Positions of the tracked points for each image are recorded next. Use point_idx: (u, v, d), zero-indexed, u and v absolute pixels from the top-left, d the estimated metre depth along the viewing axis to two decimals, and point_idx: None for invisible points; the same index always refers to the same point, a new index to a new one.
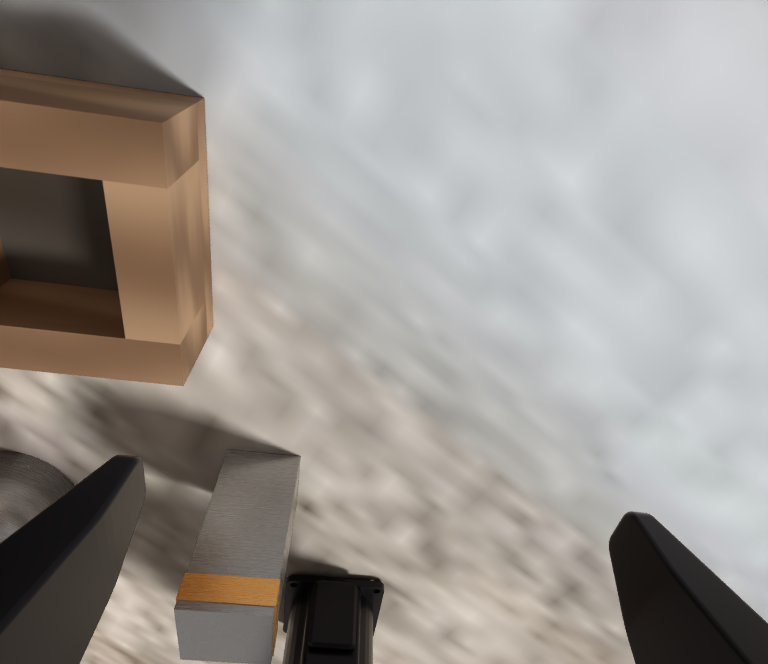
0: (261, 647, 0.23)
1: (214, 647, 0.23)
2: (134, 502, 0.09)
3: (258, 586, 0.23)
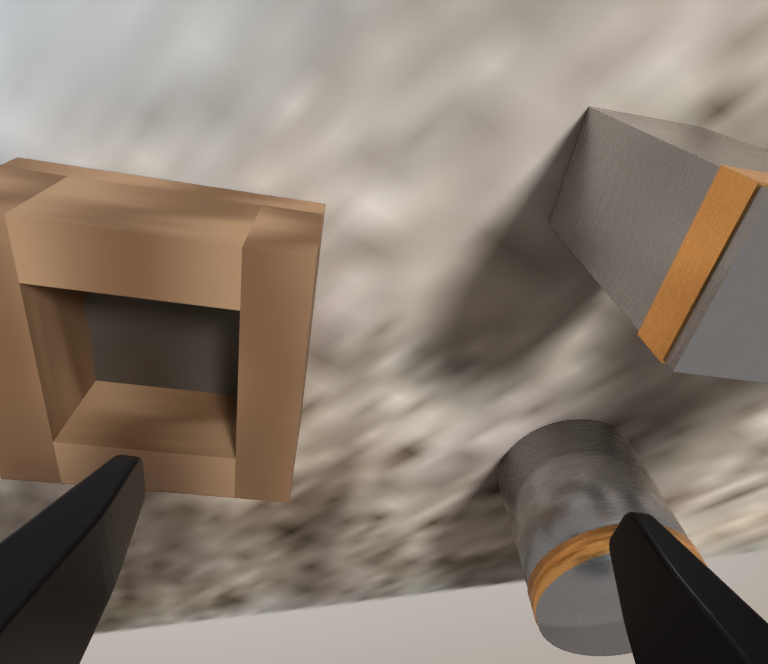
0: None
1: None
2: (134, 502, 0.09)
3: (710, 213, 0.11)
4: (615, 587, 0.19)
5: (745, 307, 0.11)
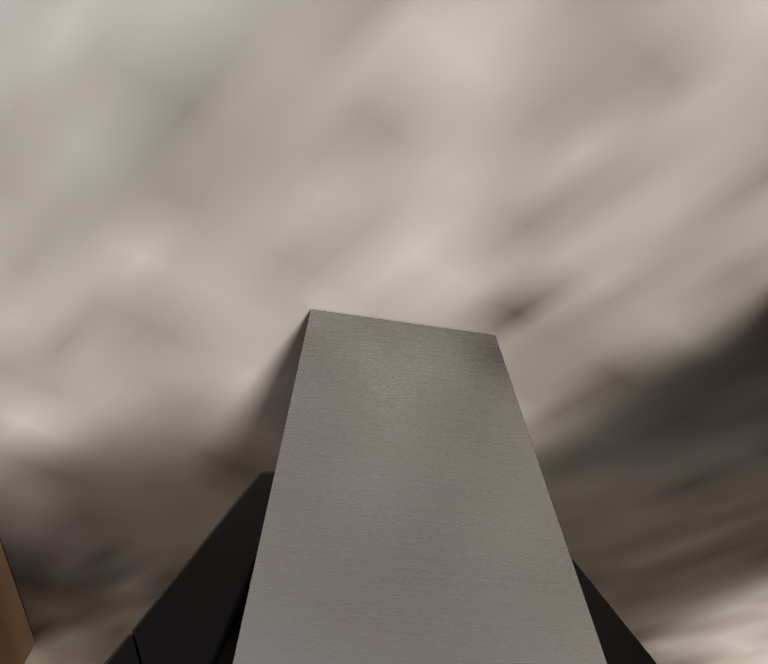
0: None
1: None
2: None
3: None
4: None
5: None
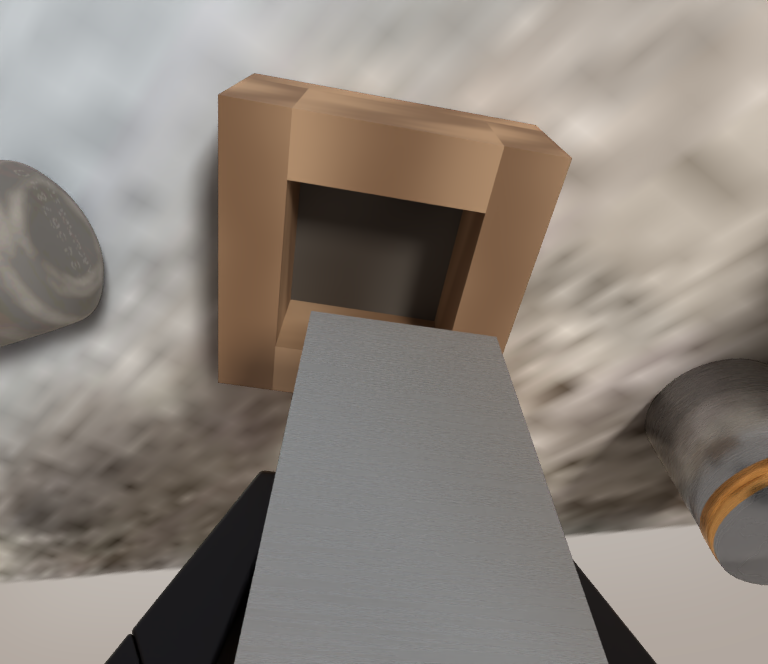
0: None
1: None
2: None
3: None
4: None
5: None
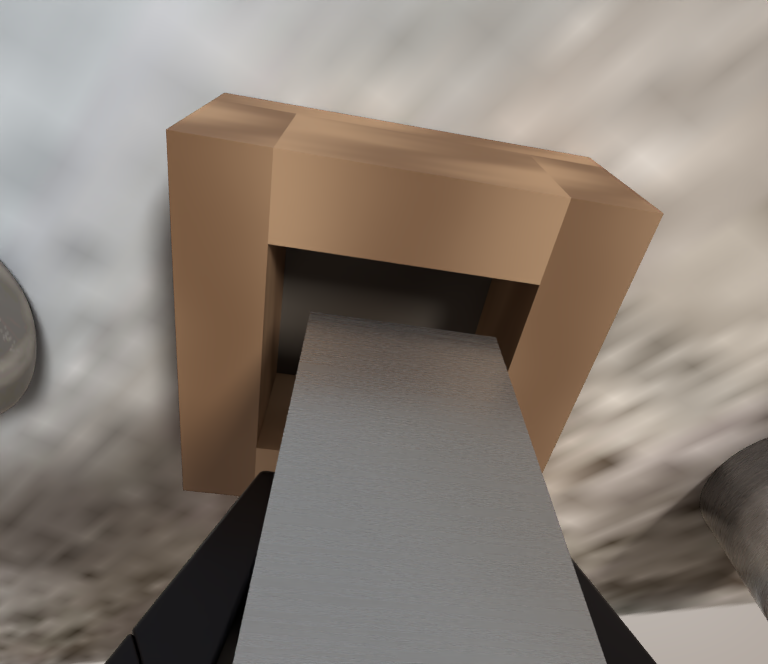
0: None
1: None
2: None
3: None
4: None
5: None
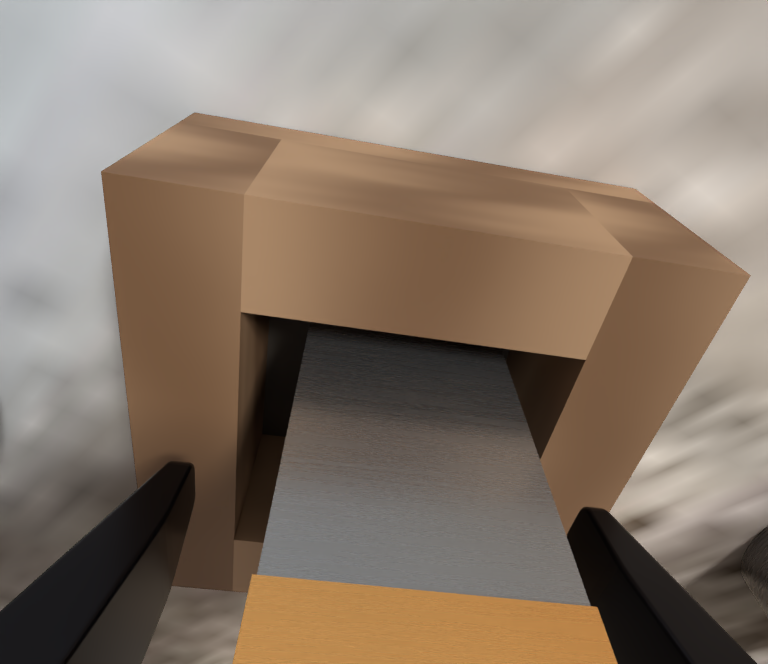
0: None
1: None
2: (187, 507, 0.09)
3: None
4: None
5: None
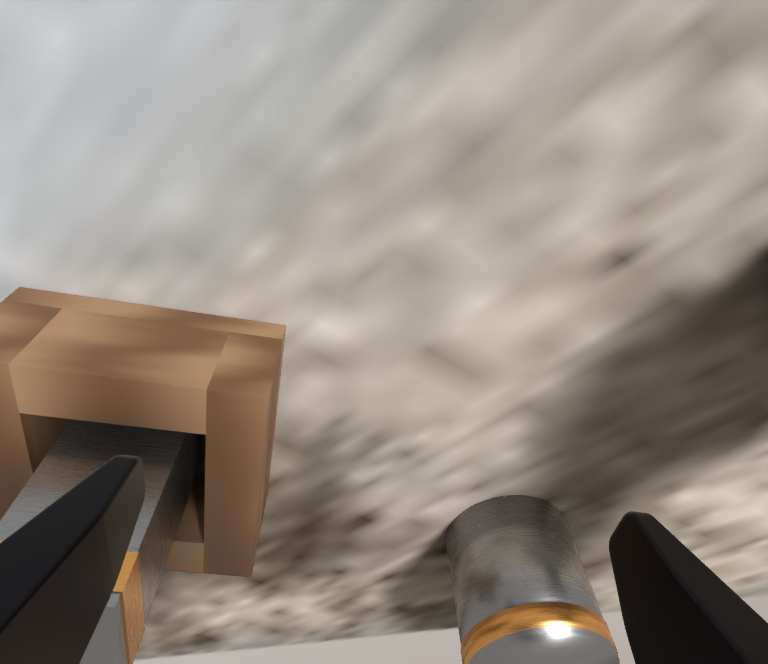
0: None
1: None
2: (134, 502, 0.09)
3: None
4: (531, 657, 0.22)
5: None
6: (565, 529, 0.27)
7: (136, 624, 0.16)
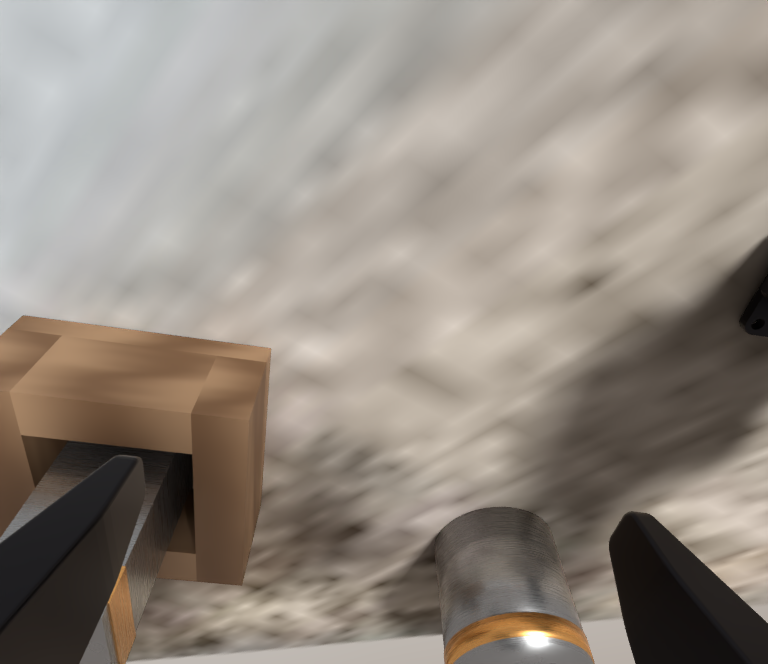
0: None
1: None
2: (134, 502, 0.09)
3: None
4: None
5: None
6: (548, 540, 0.27)
7: (126, 631, 0.18)
